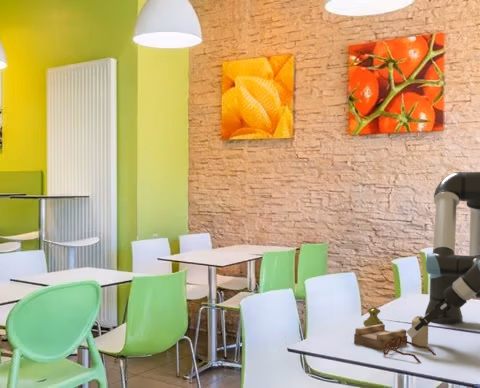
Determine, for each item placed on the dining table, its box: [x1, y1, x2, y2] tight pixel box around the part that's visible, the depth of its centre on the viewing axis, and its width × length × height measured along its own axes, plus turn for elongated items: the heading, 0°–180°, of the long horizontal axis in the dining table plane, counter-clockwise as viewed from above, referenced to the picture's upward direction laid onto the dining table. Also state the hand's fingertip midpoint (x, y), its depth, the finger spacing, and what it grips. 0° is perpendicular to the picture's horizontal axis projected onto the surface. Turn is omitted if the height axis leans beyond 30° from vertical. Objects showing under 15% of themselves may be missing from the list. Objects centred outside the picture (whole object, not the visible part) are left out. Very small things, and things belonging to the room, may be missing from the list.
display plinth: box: [353, 323, 408, 351], centre depth 204 cm, size 14×12×5 cm
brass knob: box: [362, 306, 384, 327], centre depth 218 cm, size 7×7×10 cm
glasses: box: [382, 336, 437, 364], centre depth 190 cm, size 13×13×5 cm
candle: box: [411, 315, 429, 347], centre depth 202 cm, size 6×6×10 cm
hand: (413, 331), depth 203 cm, fingers open, 13 cm apart
